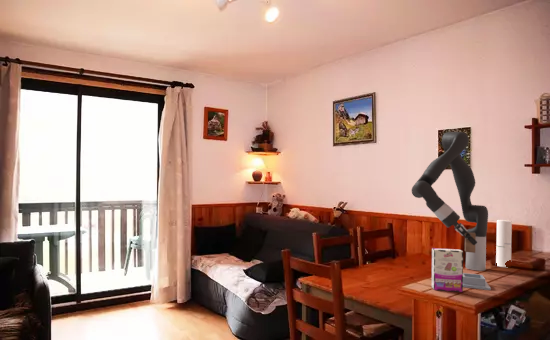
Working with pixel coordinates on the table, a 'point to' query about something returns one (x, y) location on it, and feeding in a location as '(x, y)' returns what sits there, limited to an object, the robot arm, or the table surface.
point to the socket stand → (475, 281)
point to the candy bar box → (447, 269)
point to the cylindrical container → (503, 242)
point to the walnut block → (468, 245)
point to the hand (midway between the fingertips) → (474, 243)
